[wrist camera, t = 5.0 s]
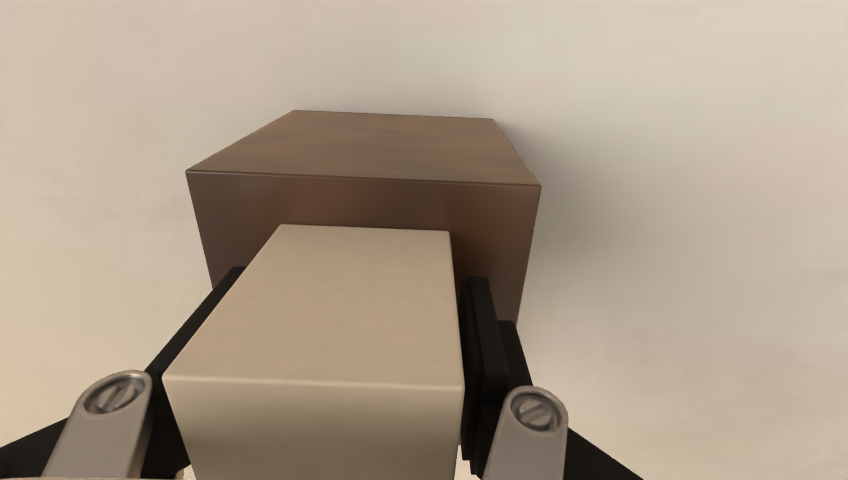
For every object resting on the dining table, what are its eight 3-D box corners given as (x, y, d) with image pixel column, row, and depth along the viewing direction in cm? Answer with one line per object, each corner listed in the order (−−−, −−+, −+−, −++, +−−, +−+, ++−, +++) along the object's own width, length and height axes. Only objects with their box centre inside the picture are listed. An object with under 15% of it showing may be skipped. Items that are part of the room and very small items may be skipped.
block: (297, 352, 14) (217, 545, 9) (280, 223, 12) (157, 376, 7) (439, 358, 14) (445, 553, 9) (449, 230, 12) (465, 389, 7)
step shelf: (322, 396, 29) (275, 555, 20) (292, 109, 20) (183, 169, 11) (460, 401, 29) (473, 562, 20) (492, 118, 20) (543, 185, 11)
